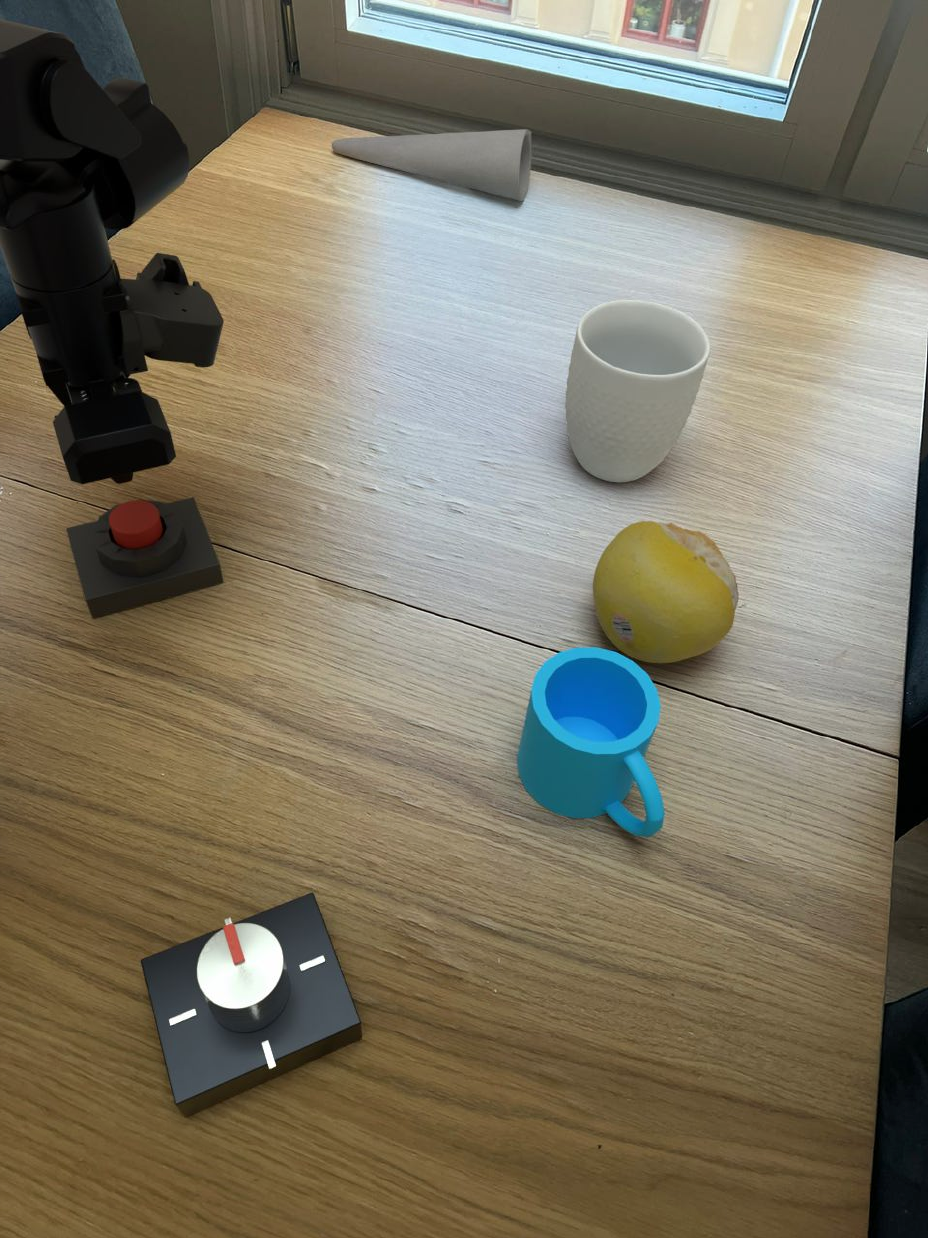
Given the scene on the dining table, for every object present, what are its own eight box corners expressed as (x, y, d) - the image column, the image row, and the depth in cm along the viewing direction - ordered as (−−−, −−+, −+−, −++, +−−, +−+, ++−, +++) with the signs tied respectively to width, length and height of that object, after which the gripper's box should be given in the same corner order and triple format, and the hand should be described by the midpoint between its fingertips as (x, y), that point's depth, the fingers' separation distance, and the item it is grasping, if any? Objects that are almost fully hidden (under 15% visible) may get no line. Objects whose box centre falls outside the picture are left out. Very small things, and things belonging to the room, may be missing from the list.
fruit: (692, 710, 68) (731, 624, 61) (560, 648, 71) (581, 558, 63) (736, 619, 74) (777, 530, 66) (613, 566, 77) (638, 474, 69)
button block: (92, 619, 70) (79, 583, 67) (73, 547, 74) (59, 511, 71) (223, 583, 73) (216, 547, 70) (197, 516, 78) (190, 480, 75)
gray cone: (307, 140, 113) (518, 148, 108) (329, 110, 118) (531, 116, 113) (318, 203, 119) (519, 213, 114) (339, 172, 124) (531, 180, 119)
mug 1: (526, 403, 90) (543, 279, 80) (631, 390, 92) (661, 269, 82) (577, 508, 81) (604, 383, 71) (692, 492, 83) (734, 369, 73)
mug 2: (494, 744, 65) (506, 676, 59) (589, 699, 68) (610, 629, 62) (593, 888, 59) (618, 828, 53) (692, 831, 62) (727, 769, 56)
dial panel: (186, 1124, 49) (176, 1110, 47) (149, 972, 54) (138, 953, 52) (364, 1044, 52) (363, 1027, 50) (314, 907, 57) (311, 885, 55)
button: (119, 555, 70) (114, 538, 68) (109, 523, 72) (104, 506, 70) (167, 542, 71) (163, 526, 69) (157, 511, 73) (152, 495, 71)
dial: (300, 1011, 50) (294, 985, 47) (220, 1047, 49) (208, 1022, 46) (275, 937, 53) (268, 907, 49) (198, 969, 51) (185, 940, 48)
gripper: (243, 326, 51) (270, 527, 63) (163, 173, 62) (199, 371, 74) (30, 367, 48) (102, 571, 60) (-16, 197, 58) (52, 401, 70)
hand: (120, 469), depth 66 cm, fingers closed
